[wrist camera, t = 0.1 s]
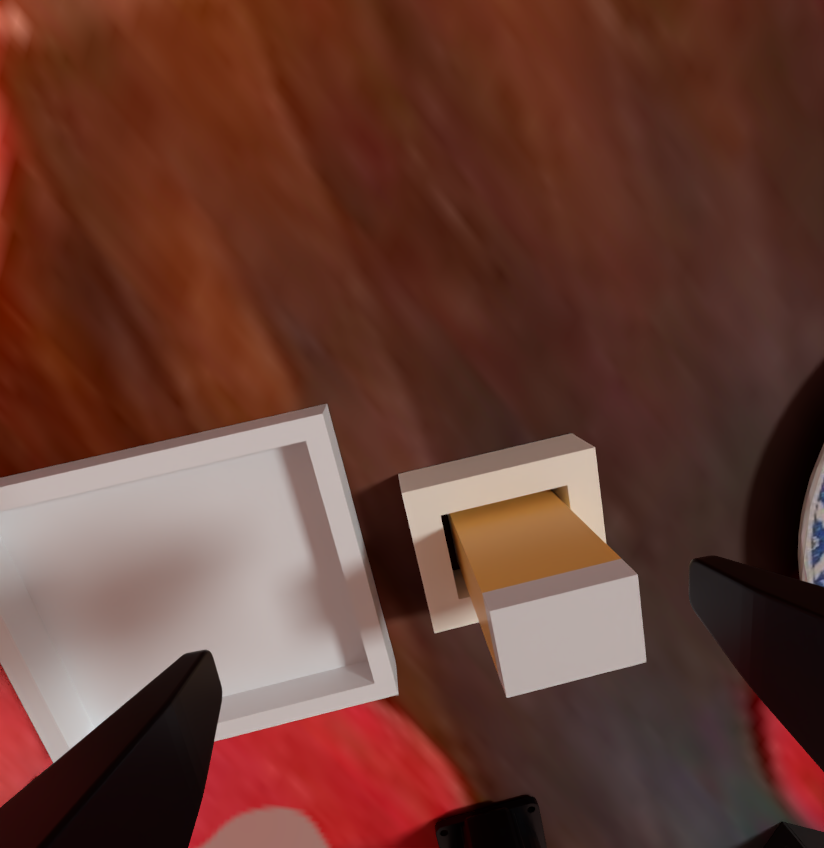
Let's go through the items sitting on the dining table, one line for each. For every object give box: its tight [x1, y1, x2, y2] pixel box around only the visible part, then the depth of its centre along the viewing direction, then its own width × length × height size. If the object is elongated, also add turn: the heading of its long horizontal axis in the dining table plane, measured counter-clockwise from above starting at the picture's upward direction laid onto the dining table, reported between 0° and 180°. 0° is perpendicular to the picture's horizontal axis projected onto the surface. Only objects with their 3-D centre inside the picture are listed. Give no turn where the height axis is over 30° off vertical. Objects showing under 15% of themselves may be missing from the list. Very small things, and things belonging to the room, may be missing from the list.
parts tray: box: [0, 404, 398, 763], centre depth 22 cm, size 15×17×2 cm
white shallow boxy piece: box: [398, 433, 606, 633], centre depth 23 cm, size 8×9×2 cm
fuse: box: [447, 489, 646, 698], centre depth 20 cm, size 4×5×9 cm
